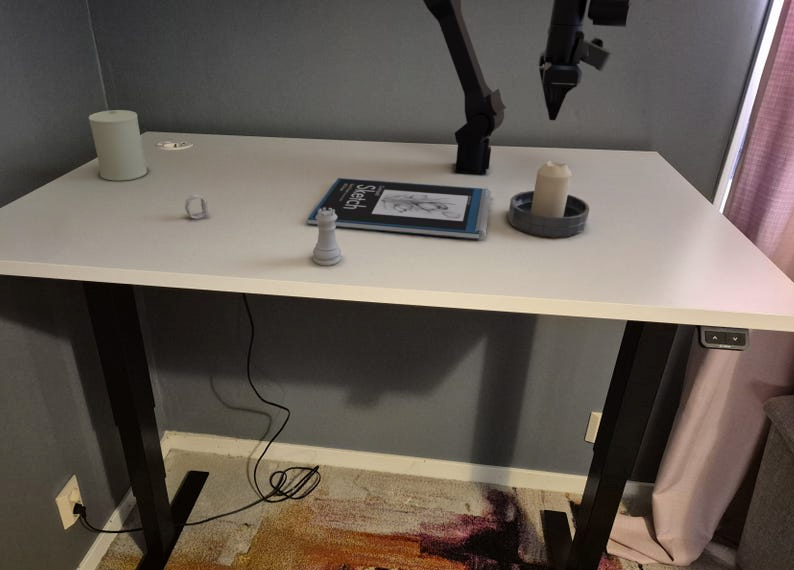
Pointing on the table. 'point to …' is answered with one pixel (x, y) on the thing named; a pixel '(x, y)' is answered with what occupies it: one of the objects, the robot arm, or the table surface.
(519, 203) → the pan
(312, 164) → the table surface
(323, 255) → the rook chess piece
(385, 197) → the sketchbook
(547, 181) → the candle
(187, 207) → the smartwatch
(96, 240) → the table surface
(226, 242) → the table surface
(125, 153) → the can
